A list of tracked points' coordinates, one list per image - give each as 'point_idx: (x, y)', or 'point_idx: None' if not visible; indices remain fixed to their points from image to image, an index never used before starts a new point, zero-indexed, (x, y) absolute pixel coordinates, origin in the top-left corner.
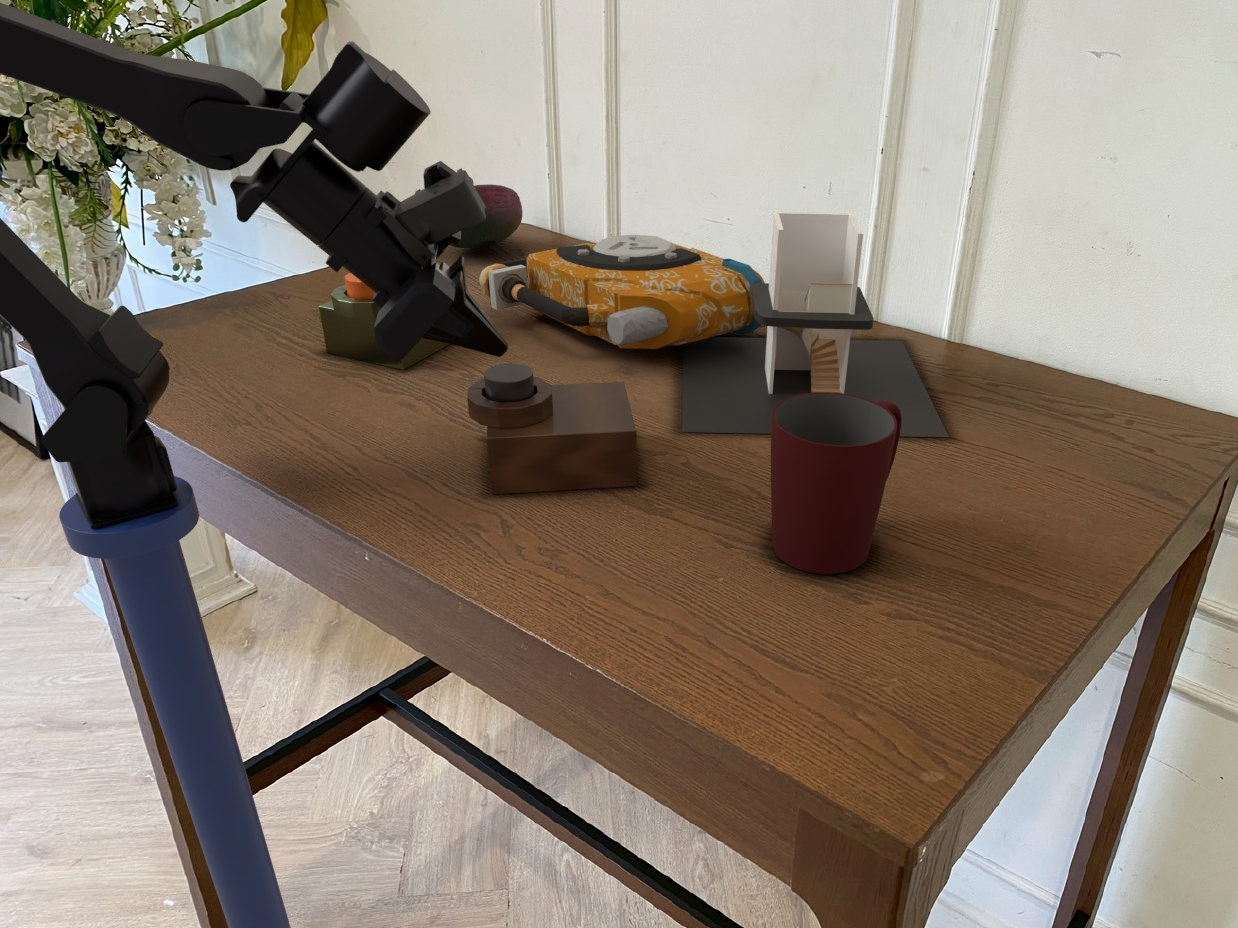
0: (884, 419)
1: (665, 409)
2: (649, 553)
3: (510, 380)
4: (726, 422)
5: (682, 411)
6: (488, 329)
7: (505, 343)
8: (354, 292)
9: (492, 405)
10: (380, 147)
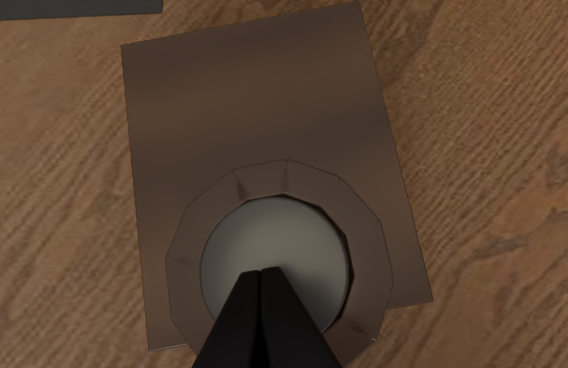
0: None
1: (76, 42)
2: (532, 34)
3: (332, 254)
4: None
5: (86, 15)
6: (333, 353)
7: (267, 276)
8: None
9: (378, 300)
10: None
